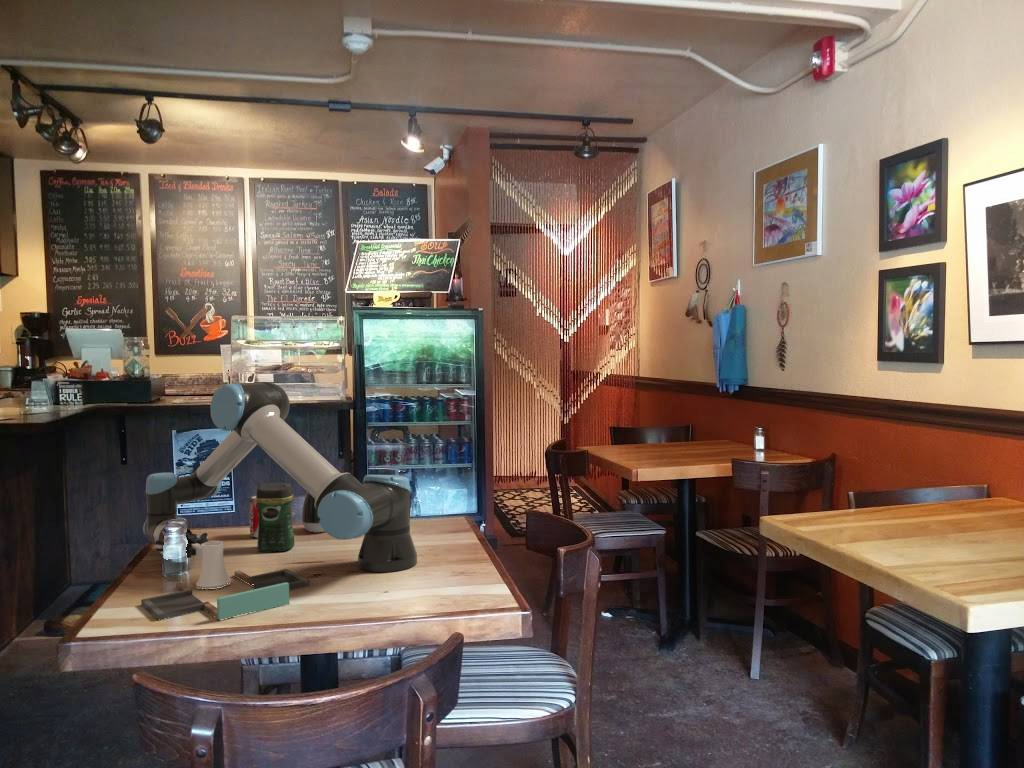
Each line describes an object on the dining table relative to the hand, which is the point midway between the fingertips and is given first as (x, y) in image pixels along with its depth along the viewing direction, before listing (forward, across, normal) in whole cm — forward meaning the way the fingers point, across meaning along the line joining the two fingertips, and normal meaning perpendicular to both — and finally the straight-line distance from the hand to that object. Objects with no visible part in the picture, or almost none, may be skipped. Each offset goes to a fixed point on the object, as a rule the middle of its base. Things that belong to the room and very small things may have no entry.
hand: (203, 554), depth 171 cm
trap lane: (+16, 0, -6) cm, 17 cm away
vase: (+6, 0, -6) cm, 9 cm away
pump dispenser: (-26, -43, -6) cm, 50 cm away
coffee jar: (-14, -24, -6) cm, 29 cm away
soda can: (-31, -27, -6) cm, 42 cm away
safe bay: (+31, 0, -6) cm, 31 cm away
